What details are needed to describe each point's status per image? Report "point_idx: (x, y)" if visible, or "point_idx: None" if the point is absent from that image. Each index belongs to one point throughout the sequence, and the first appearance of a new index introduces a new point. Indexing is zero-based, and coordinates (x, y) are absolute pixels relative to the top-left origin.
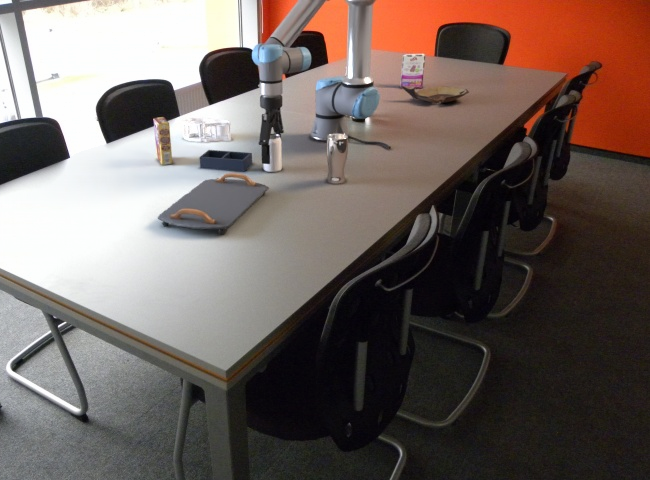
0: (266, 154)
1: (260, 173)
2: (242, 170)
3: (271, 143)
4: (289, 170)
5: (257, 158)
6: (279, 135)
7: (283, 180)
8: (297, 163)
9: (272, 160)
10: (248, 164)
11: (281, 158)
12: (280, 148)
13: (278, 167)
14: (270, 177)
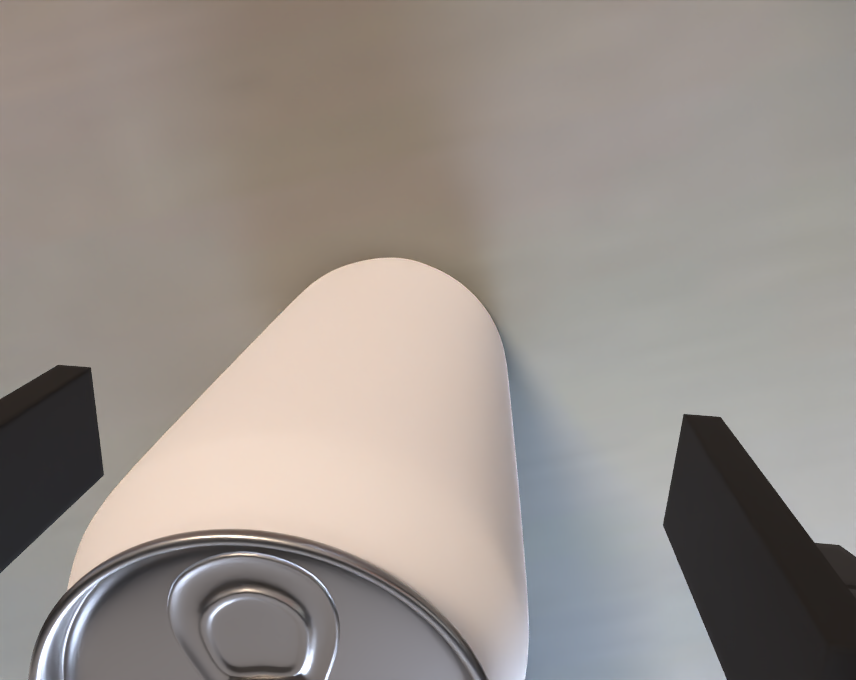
0: (849, 554)
1: (546, 471)
2: None
3: (525, 612)
4: (374, 142)
5: None
6: (134, 560)
7: (793, 132)
8: (68, 94)
9: (509, 407)
10: None
11: (351, 293)
12: (370, 364)
13: (457, 291)
14: (680, 329)
